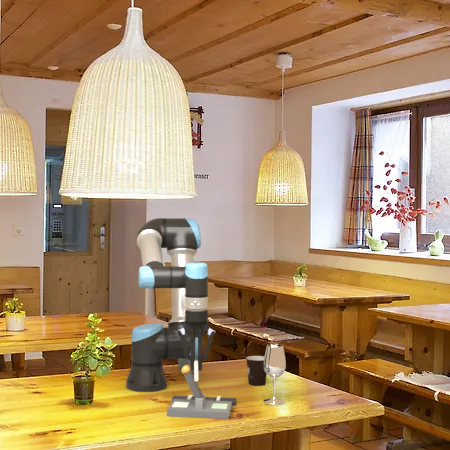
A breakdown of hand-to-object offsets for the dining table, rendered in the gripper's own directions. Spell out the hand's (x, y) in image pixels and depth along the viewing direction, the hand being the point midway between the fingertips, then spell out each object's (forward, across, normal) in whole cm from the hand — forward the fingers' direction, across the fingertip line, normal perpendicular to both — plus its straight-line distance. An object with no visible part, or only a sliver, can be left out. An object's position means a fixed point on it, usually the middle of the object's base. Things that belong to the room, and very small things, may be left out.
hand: (196, 380), depth 250 cm
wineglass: (+11, +25, +16) cm, 32 cm away
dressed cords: (+10, +1, +11) cm, 15 cm away
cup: (+11, -11, +55) cm, 57 cm away
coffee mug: (+11, +18, +43) cm, 48 cm away
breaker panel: (+10, +1, 0) cm, 10 cm away
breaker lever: (+6, +1, 0) cm, 7 cm away
